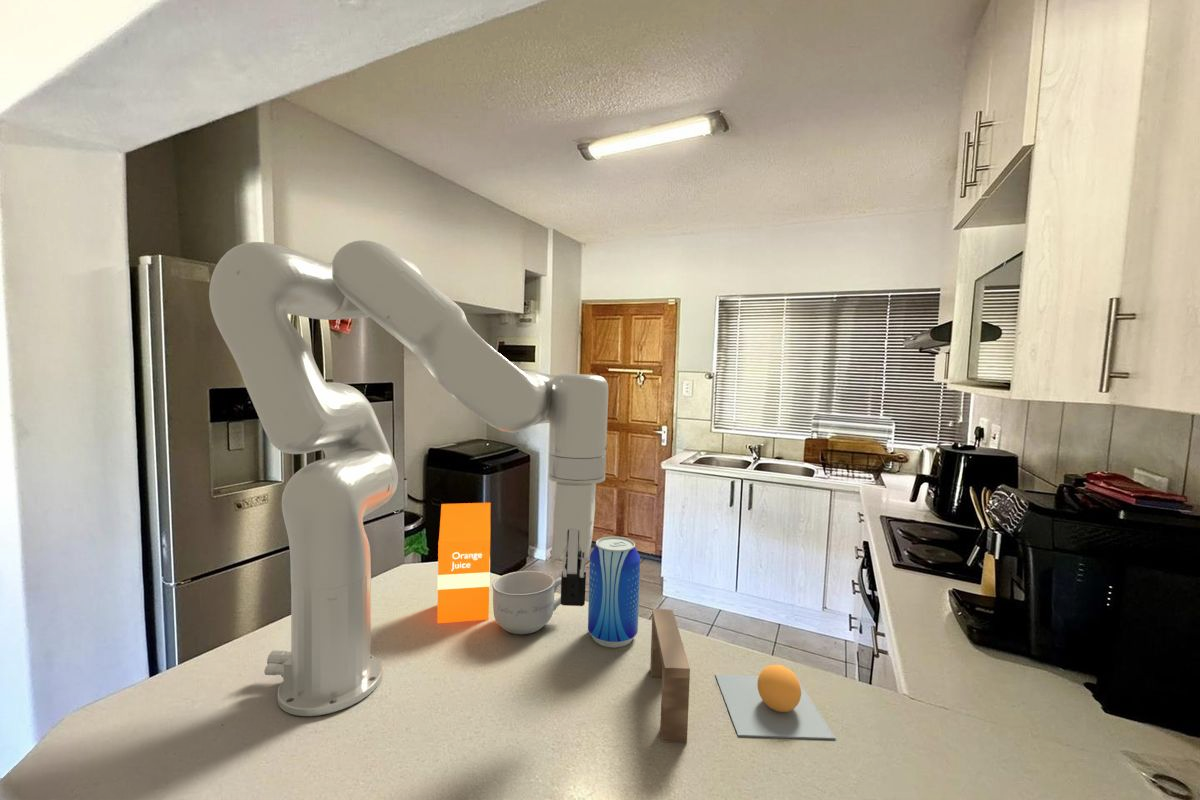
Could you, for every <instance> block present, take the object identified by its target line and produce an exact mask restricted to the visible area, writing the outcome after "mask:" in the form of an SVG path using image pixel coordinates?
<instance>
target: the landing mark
mask: <svg viewBox="0 0 1200 800" xmlns="http://www.w3.org/2000/svg"><path fill="white" fill-rule="evenodd" d="M758 677H759V675H746V674H744V675H743V674H741V675H740V674H715V678H716V681H717V684H718V686H719V689H720V693H721V694H722V697H723V700H724V702H725V705H726V708H727V710H728V714H729V717H730V718H731V721H732V723H733V727H734V729H735V731H736V735H737V737H741V738H742V737H746V738H748V737H750V738H753V737H754V738H773V739H774V738H777V739H779V738H781V739H809V740H810V739H811V740H837V739H836V736H835V735H834V733H833V732H832V730H831V729H830V727H829V726H828V724H827V722H826V721H825V719H824V718H823V716H822V714H821V713H820V712H819V710H818V709H817V707H816V705H815V704H814V702H813V701H812V699H811V697H810V695H809V693H807V691H806V690H805V688H804V686H803V684H801V681H800V680H799V678H798V677H797V679H798V681H799V683H800V687H801V698H800V701H799V703H798V705H797V706H796V707H795V708H794V709H793V710H791V711H788V712H778V711H775V710H773V709H771V708H770V707H768V706H767V705H766V704H765V703H764V701H763V700H762V698H761V697H760V694H759V691H758V686H757V683H758Z"/></svg>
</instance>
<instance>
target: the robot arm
mask: <svg viewBox="0 0 1200 800" xmlns="http://www.w3.org/2000/svg"><path fill="white" fill-rule="evenodd" d="M209 282H210V283H209V290H208V297H209V298H208V299H209V306H210V311H211V314H212V316H213V320H214V322H215V325H216V327H217V329H218V331H219V333H220V335H221V337H222V339H223V341H224V342H225V344H226V346H227V348H228V350H229V352H230V354H231V355H232V358H233V359H234V361H235V363H236V366H237V369H238V371H239V372H240V375H241V378H242V381H243V383H244V386H245V389H246V390H247V393H248V395H249V398H250V400H251V402H252V404H253V408H254V409H255V412H256V413H257V416H258V418H259V421H260V423H261V425H262V426H261V427H262V428H263V430H264V433H265V434H266V437H267V438H268V440H269V442H270V443H271V444H272V446H273V447H274V448H276V449H277V450H278V451H280V452H282V453H285V454H290V455H300V454H301V455H302V454H308V453H313V452H317V451H318V452H319V451H322V450H323V452H324V455H325V457H326V458H322V459H318V460H315V461H313V462H311V463H309V464H307V465H305V466H303V467H302V468H300V469H299V470H298V471H296V472H295V473H294V474H293V475H292V476H291V477H290V478H289V480H288V481H287V483H286V484H285V486H284V489H283V492H282V496H281V510H282V515H283V517H282V518H283V521H284V526H285V529H286V533H287V538H288V545H289V546H288V547H289V557H290V558H289V559H290V561H289V562H290V585H291V586H290V590H291V592H290V597H291V598H290V601H291V602H290V603H291V604H290V605H291V606H290V607H291V609H290V614H291V615H290V616H291V617H290V618H291V621H290V622H291V623H290V628H291V629H290V630H291V633H290V634H291V635H290V637H291V638H290V639H291V641H290V643H291V644H290V645H291V651H290V650H289V651H288V650H272V651H271V652H270V653H269V654H268V657H267V659H266V663H267V664H266V666H265V668H264V676H265V675H266V676H281V678H283V679H282V682H281V683H280V685H279V687H278V689H277V704H278V706H279V707H280V709H282V710H283V711H284V712H285V713H288V714H291V715H294V716H299V717H314V716H316V717H317V716H323V715H328V714H332V713H335V712H338V711H342V710H344V709H347V708H349V707H352V706H354V705H355V704H357V703H359V702H360V701H363V699H365V698H367V697H368V696H369V695H370V694H371V693H372V692H374V690H375V689H376V688H377V687H378V685H380V683H381V681H382V678H383V664H382V662H381V660H380V659H379V658H378V657H376V656H375V655H373V654H372V653H371V651H372V650H371V649H372V647H371V644H372V643H371V642H372V641H371V640H372V638H371V637H372V635H371V633H372V631H371V630H372V628H371V627H372V625H371V624H372V623H371V621H372V619H371V618H372V616H371V615H372V614H371V613H372V607H371V606H372V592H371V591H372V567H371V565H372V562H371V561H372V560H371V555H372V554H371V547H370V542H369V540H368V535H367V533H366V530H365V527H364V521H363V520H364V517H366V516H367V515H368V514H370V513H372V512H373V511H376V510H377V509H379V508H380V507H382V506H383V505H385V504H386V503H387V502H389V501H390V499H392V497H393V496H394V495H395V493H396V490H397V488H398V485H399V484H398V483H399V472H398V467H397V464H396V461H395V459H394V456H393V453H392V451H391V449H390V446H389V443H388V442H387V439H386V436H385V434H384V432H383V430H382V427H381V425H380V422H379V420H378V417H377V415H376V413H375V410H374V408H373V406H372V404H371V402H370V401H369V400H368V399H367V397H366V396H365V395H364V394H363V393H362V391H360V390H358V389H357V388H355V387H354V386H351V385H349V384H346V383H341V382H335V381H334V382H331V381H330V382H329V381H328V382H326V380H325V379H324V377H323V375H322V373H321V371H320V369H319V367H318V365H317V363H316V360H315V358H314V354H313V352H312V350H311V348H310V346H309V345H308V343H307V341H306V339H305V338H304V337H303V336H302V334H301V333H300V332H299V331H298V330H297V329H296V327H295V326H294V325H293V324H292V322H291V320H290V319H289V316H288V315H293V316H298V317H303V318H309V319H312V320H313V319H314V320H326V321H330V320H332V321H334V320H335V321H336V320H348V319H349V320H350V319H362V318H364V319H365V318H370V319H371V320H373V321H374V322H376V323H377V324H378V325H379V326H380V327H381V328H383V329H384V330H385V331H386V332H388V333H389V334H390V335H391V336H392V337H394V338H395V339H396V340H398V341H399V343H401V344H402V345H403V346H405V347H406V348H407V349H408V350H410V351H411V352H412V353H413V354H414V355H416V357H417V358H418V359H419V361H420V363H421V364H422V366H423V367H424V368H425V369H426V370H427V371H428V372H429V373H430V375H431V376H432V377H433V379H434V380H436V382H437V383H438V384H439V385H440V386H441V387H442V388H443V389H444V390H446V392H448V393H449V394H450V395H451V396H452V397H453V398H454V399H455V400H457V401H458V402H459V403H461V404H462V405H463V406H464V407H466V408H467V409H468V410H469V411H471V412H472V413H473V414H474V415H476V416H477V417H478V418H479V419H481V420H482V421H483V422H485V423H486V424H487V425H489V426H490V427H493V428H494V429H496V430H499V431H501V432H505V433H506V432H507V433H518V432H522V431H525V430H527V429H529V428H531V427H532V426H536V425H539V424H541V425H543V424H549V452H548V480H550V481H552V482H554V483H555V489H554V500H553V512H552V533H551V537H552V538H551V550H550V558H551V559H552V560H553V561H555V562H556V561H557V560H561V557H562V570H561V575H560V576H561V584H560V597H561V604H560V605H561V606H565V607H566V606H569V607H571V606H572V607H573V606H574V607H584V606H585V603H586V587H587V586H586V585H587V584H586V583H587V582H586V581H587V579H586V578H587V571H585V564H586V562H587V561H588V560H590V554H591V548H592V542H593V535H594V523H595V515H596V514H595V511H596V497H597V496H596V492H597V484H601V483H603V482H605V480H606V468H607V465H606V464H607V463H606V462H607V438H608V437H607V435H608V416H609V415H608V414H609V413H608V409H609V383H608V381H607V380H606V378H605V377H603V376H601V375H597V374H589V373H588V374H584V373H583V374H582V373H581V374H580V373H561V374H558V375H556V374H549V373H548V374H547V373H542V372H537V371H532V370H531V371H530V370H523V369H520V368H519V367H517V366H516V365H515V364H514V363H512V362H511V361H510V360H509V359H507V358H506V357H505V356H504V355H502V354H501V353H500V352H498V350H496V349H495V348H494V347H492V345H490V344H489V343H488V342H486V341H485V339H484V338H482V337H481V335H480V334H478V333H477V332H476V331H475V330H474V329H473V327H472V326H471V325H470V323H469V322H468V320H467V317H466V314H465V311H464V310H463V309H462V308H461V306H459V305H458V304H457V303H456V302H455V301H454V300H453V299H451V297H449V296H448V295H446V294H445V293H443V292H442V291H441V290H440V289H438V288H437V287H436V286H434V285H433V284H432V283H431V282H430V281H428V280H427V279H426V278H425V277H424V276H423V274H422V271H421V270H420V269H419V267H418V266H417V265H416V264H415V263H414V262H413V261H412V260H410V259H408V258H407V257H405V256H403V255H401V254H400V253H398V252H397V251H394V250H392V249H391V248H389V247H387V246H385V245H383V244H382V243H381V244H380V243H379V242H375V241H372V240H366V239H365V240H355V241H352V242H348V243H346V244H345V245H343V246H341V247H340V248H339V249H338V250H337V252H336V253H335V254H334V256H333V258H332V261H331V262H326V261H324V260H321V259H318V258H316V257H313V256H310V255H307V254H305V253H302V252H300V251H298V250H294V249H292V248H289V247H287V246H284V245H280V244H277V243H275V244H274V243H270V242H265V241H252V242H251V241H250V242H246V243H241V244H238V245H236V246H233V247H232V248H231V249H229V250H228V251H226V253H225V254H223V256H222V257H221V258H220V260H219V261H218V262H217V264H216V266H215V268H214V270H213V273H212V274H211V278H210V281H209Z"/></svg>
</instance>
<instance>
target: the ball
mask: <svg viewBox="0 0 1200 800" xmlns="http://www.w3.org/2000/svg"><path fill="white" fill-rule="evenodd" d="M758 676H759V677H758V683H757V686H758V691H759V694H760V697H761V698H762V700H763V701H764V703H765V704H766V705H767V706H768V707H770V708H771V709H773V710H775V711H778V712H788V711H791V710H793V709H794V708H795V707H796V706H797V705H798V703H799V701H800V698H801V687H800V683H801V682H800V680H799V678H798V677H797V675H796V674H795V673H794V672H793V671H792V670H791V669H789V668H788V667H786V666H784V665H781V664H770V665H767V666H765V667H764V668H763V669H762V670H761V672H760V673H759V675H758ZM797 678H798V679H797ZM798 680H799V681H798ZM799 682H800V683H799Z"/></svg>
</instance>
